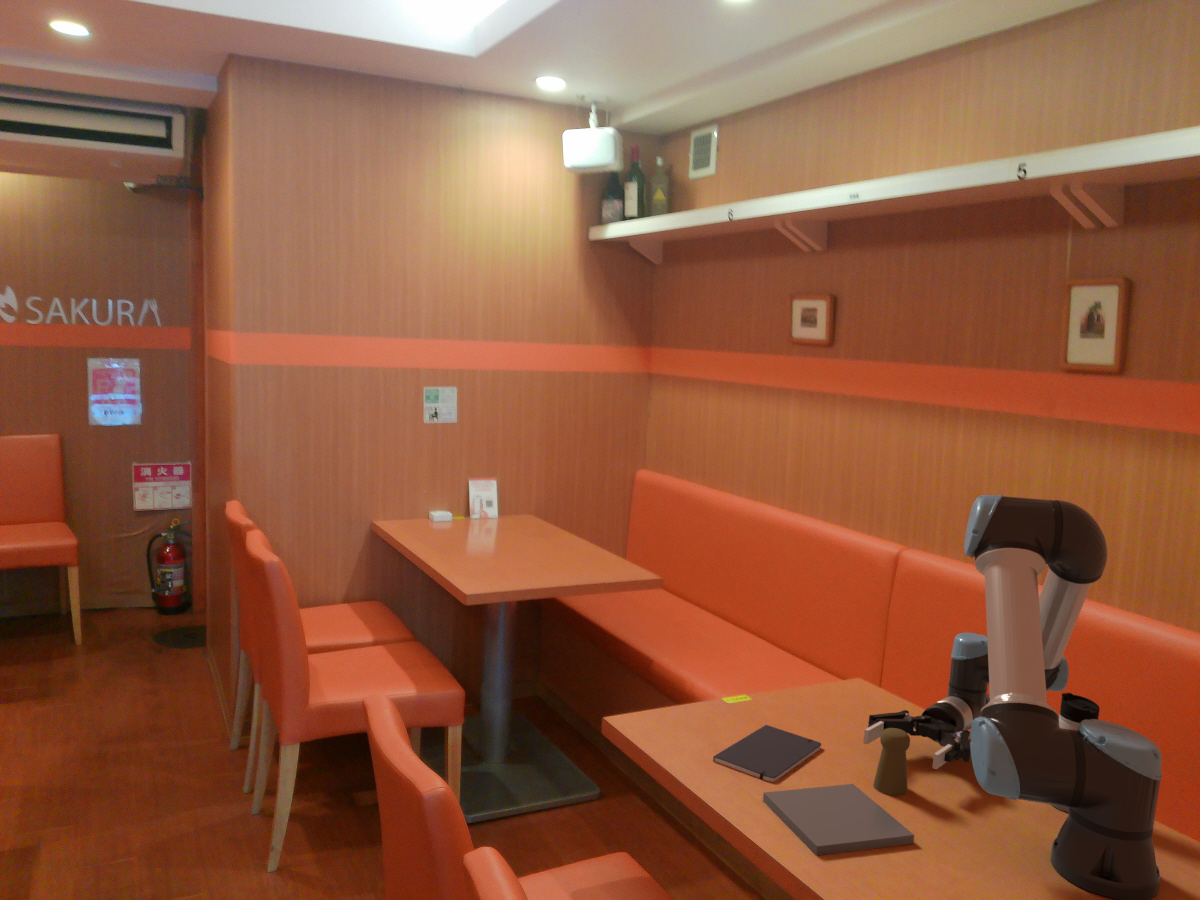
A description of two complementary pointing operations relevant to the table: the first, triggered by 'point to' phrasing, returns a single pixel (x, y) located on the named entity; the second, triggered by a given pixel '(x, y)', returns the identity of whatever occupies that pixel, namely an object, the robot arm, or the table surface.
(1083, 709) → the travel mug
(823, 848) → the slate board
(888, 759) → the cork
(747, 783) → the table surface
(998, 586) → the robot arm
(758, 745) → the notebook
